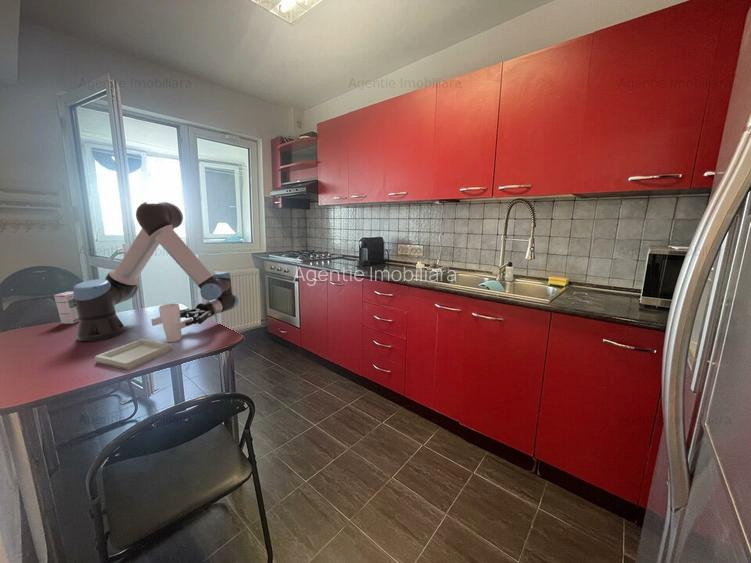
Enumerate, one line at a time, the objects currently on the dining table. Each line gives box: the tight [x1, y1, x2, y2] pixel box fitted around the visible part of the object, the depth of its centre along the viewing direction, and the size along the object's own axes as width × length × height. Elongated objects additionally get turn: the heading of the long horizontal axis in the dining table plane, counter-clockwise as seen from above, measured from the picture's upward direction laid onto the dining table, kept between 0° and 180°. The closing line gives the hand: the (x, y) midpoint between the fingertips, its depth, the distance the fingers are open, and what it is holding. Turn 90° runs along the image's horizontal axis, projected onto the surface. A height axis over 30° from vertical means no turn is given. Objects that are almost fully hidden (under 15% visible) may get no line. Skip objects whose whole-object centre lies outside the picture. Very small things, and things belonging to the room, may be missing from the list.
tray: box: [94, 338, 173, 371], centre depth 109 cm, size 16×16×2 cm
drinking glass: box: [158, 302, 183, 343], centre depth 122 cm, size 7×7×15 cm
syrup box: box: [54, 291, 80, 325], centre depth 142 cm, size 6×6×14 cm
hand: (164, 324), depth 119 cm, fingers open, 13 cm apart
